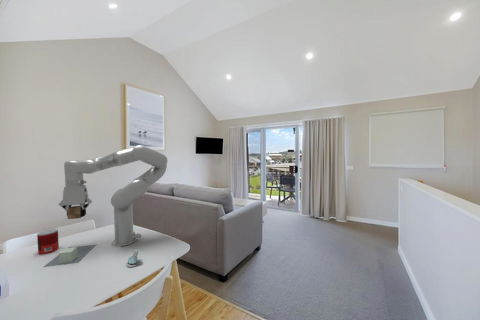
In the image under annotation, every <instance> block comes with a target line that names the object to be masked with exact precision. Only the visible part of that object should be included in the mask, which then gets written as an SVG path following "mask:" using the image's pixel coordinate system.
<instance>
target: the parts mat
mask: <svg viewBox="0 0 480 320" xmlns="http://www.w3.org/2000/svg"><path fill="white" fill-rule="evenodd" d="M97 245H98V243H97V244H87V245H85V244H84V245H76V246H75V247H77V258H76V259H74V260H73V261H72V262H69V263H61V264H59V254H58V255H57V256H55V257H54V258H52V260H50V261H49V262H48V263H46V264H45V265H43V268H48V267H58V266H63V265H71V264H72V265H73V264H78V263H80V262H81V261H82V260H83V259H84V258H85V257H86V256H87V255H88V254H89V253H90V252H91V251H92V250H93V249H94V248H95V247H96V246H97ZM73 247H74V246H68V247H67V248H73Z"/></svg>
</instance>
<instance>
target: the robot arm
mask: <svg viewBox="0 0 480 320" xmlns="http://www.w3.org/2000/svg"><path fill="white" fill-rule="evenodd" d="M138 161H140V162H143V163H145V164H147V165H150V166H151V167H150V168H149V169H148V170H146V171H145V172H143V173H142V174H140V175H139V176H138V177H136V178H133V180H131V182H130V183H128V184H126V185H125V186H124V187H122V188H119V189H117V190H116V191H115V192H114V194H113V195H112V196H111V199H110V205H112V206H113V224H114V239H113V240H112V241H111V245H112V247H126V246H128V245H132V244H134V243H135V242H136V241H137V239H141V238H142V234H141V233H136V231H134V210H133V208H134V205H133V204H134V202H136V201H137V200H138V199H140V198H141V197H142V196H144V195H145V194H146V193H147V192H148V190H149V188H150V187H151V186H152V185H154V184H155V183H157V182H158V181H159V180H160V179H162V177H164V175H165V173H166V172H167V171H166V170H167V165H168V158H167V156H166V155H165V154H163V153H161V152H158V151H157V150H154V149H151V148H149V147H147V146H145V145H144V144H138V145H135V146H132V147H128V148H125V149H121V150H117V151H114V152H112V153H110V154H108V155H104V156H101V157H97V158H92V159H85V160H79V159H78V160H66V161H65V162H64V163H63V169H64V180H65V182H64V184H65V186H64V187H63V190H62V200H61V201H60V202H59V203H58V206H59V207H61V209H64V211H66V212H67V209H68V208H70V207H72V206H81V208H82V209H81V218H84V217H85V216H86V215H87V208H88V207H89V205H91V204H92V203H93V200H92V199H90V198H89V193H88V188H87V186H86V183H87V180H84V174H87V175H88V174H93V173H97V172H101V171H104V170H107V169H110V168H114V167H121V166H124V165H128V164H130V163H135V162H138ZM66 217H68V215H67V214H66Z"/></svg>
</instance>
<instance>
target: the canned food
mask: <svg viewBox="0 0 480 320" xmlns="http://www.w3.org/2000/svg"><path fill="white" fill-rule="evenodd" d="M36 238H37V253H38V255H47V254H48V255H49V254H51V253H54V252H56V251H58V250H59V246H60V245H59V229H58V228H50V229H46V230H45V229H44V230H41V231H39V232H38V233H37V235H36Z"/></svg>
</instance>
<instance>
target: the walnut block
mask: <svg viewBox="0 0 480 320" xmlns="http://www.w3.org/2000/svg"><path fill="white" fill-rule="evenodd" d="M81 209H82V208H81V206H80V205H72V206H71V207H70V208H68V209H67V211H66V216H67V215H68V216H67V220H74V219H75V220H76V219H81V218H82V217H81Z"/></svg>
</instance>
